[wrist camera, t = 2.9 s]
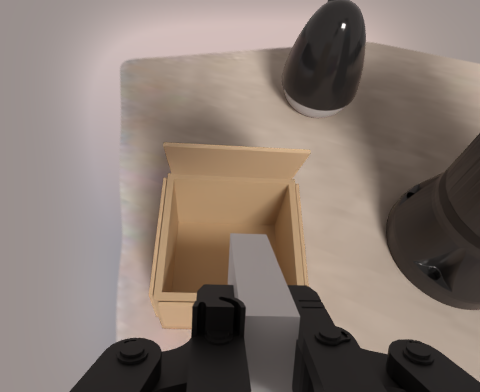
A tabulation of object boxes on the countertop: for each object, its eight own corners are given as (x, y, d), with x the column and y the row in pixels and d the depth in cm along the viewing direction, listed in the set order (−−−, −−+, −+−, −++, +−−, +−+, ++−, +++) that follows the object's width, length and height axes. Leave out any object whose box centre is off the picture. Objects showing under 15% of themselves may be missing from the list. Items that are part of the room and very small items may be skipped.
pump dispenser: (338, 77, 59) (375, -23, 47) (355, 129, 54) (403, 31, 41) (272, 77, 58) (292, -26, 45) (283, 130, 53) (309, 30, 40)
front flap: (291, 179, 37) (291, 176, 37) (310, 153, 30) (310, 149, 30) (171, 174, 36) (171, 171, 36) (163, 146, 29) (163, 142, 29)
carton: (282, 223, 45) (298, 179, 37) (289, 334, 38) (311, 308, 31) (170, 219, 44) (163, 172, 36) (158, 332, 37) (147, 304, 30)
